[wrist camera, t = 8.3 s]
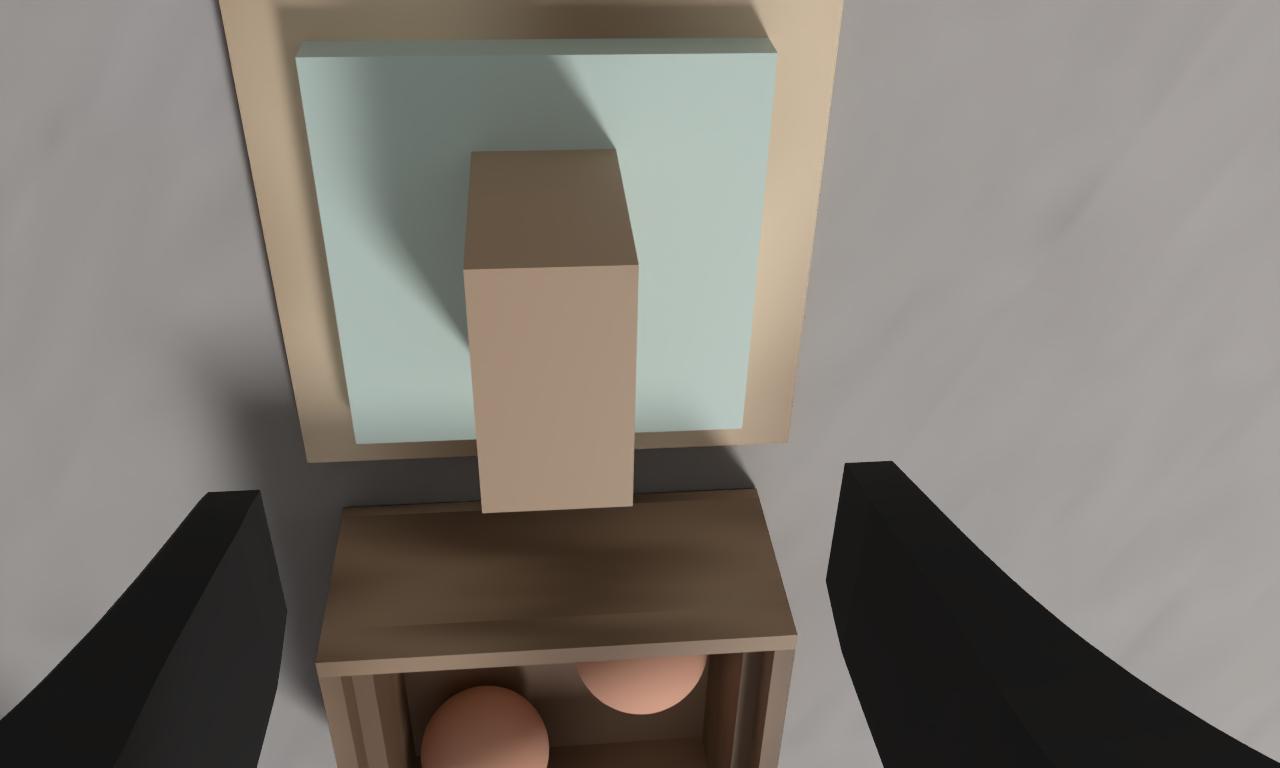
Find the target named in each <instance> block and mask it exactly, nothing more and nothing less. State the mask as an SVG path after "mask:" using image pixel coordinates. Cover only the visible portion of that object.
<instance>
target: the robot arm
mask: <svg viewBox="0 0 1280 768" xmlns="http://www.w3.org/2000/svg"><path fill="white" fill-rule="evenodd" d="M826 584H827V588H828V593H829V598H830V602H831V607H832V612H833V616H834V621H835V625H836V629H837V634H838V638H839V642H840V646H841V650H842V654H843V657H844V659H845V662H846V665H847V668H848V671H849V674H850V676H851V679H852V682H853V685H854V687H855V690H856V693H857V696H858V699H859V701H860V704H861V707H862V710H863V712H864V715H865V718H866V720H867V723H868V726H869V729H870V731H871V734H872V737H873V739H874V742H875V745H876V747H877V750H878V753H879V756H880V758H881V761H882V764H883V766H884V768H1280V763H1278V762H1277V761H1275V760H1273V759H1271V758H1269V757H1267V756H1265V755H1263V754H1262V753H1260V752H1258V751H1256V750H1254V749H1252V748H1250V747H1248V746H1247V745H1245V744H1243V743H1241V742H1240V741H1238V740H1236V739H1234V738H1233V737H1231V736H1229V735H1227V734H1226V733H1224V732H1222V731H1220V730H1219V729H1217V728H1215V727H1214V726H1212V725H1210V724H1208V723H1207V722H1205V721H1204V720H1202V719H1200V718H1199V717H1197V716H1196V715H1194V714H1192V713H1191V712H1189V711H1188V710H1186V709H1184V708H1183V707H1181V706H1180V705H1178V704H1176V703H1175V702H1173V701H1172V700H1170V699H1168V698H1167V697H1165V696H1164V695H1162V694H1160V693H1159V692H1157V691H1156V690H1154V689H1153V688H1151V687H1150V686H1148V685H1147V684H1145V683H1144V682H1142V681H1141V680H1139V679H1138V678H1136V677H1135V676H1134V675H1132V674H1131V673H1129V672H1128V671H1127V670H1125V669H1124V668H1122V667H1121V666H1120V665H1118V664H1117V663H1116V662H1114V661H1113V660H1111V659H1110V658H1109V657H1107V656H1106V655H1105V654H1103V653H1102V652H1100V651H1099V650H1098V649H1096V648H1095V647H1094V646H1092V645H1091V644H1089V643H1088V642H1087V641H1085V640H1084V639H1083V638H1082V637H1080V636H1079V635H1078V634H1076V633H1075V632H1074V631H1073V630H1071V629H1070V628H1069V627H1067V626H1066V625H1065V624H1064V623H1063V622H1061V621H1060V620H1059V619H1058V618H1057V617H1055V616H1054V615H1053V614H1052V613H1051V612H1049V611H1048V610H1047V609H1046V608H1045V607H1043V606H1042V605H1041V604H1040V603H1039V602H1038V601H1036V600H1035V599H1034V598H1033V597H1032V596H1030V595H1029V594H1028V593H1027V592H1026V591H1025V590H1023V589H1022V588H1021V587H1020V586H1019V585H1018V584H1017V583H1016V582H1015V581H1013V580H1012V579H1011V578H1010V577H1009V576H1008V575H1007V574H1006V573H1005V572H1003V571H1002V570H1001V569H1000V568H999V567H998V566H997V565H996V564H995V563H994V562H993V561H992V560H991V559H990V558H989V557H988V556H987V555H985V554H984V553H983V552H982V551H981V550H980V549H979V548H978V547H977V546H976V545H975V544H974V543H973V542H972V541H971V540H970V539H969V538H968V537H967V536H966V535H965V534H964V533H963V532H962V531H961V530H960V529H959V528H958V527H957V526H956V525H955V524H954V523H953V522H952V521H951V520H950V519H949V518H948V517H947V516H946V515H945V514H944V513H943V512H942V511H941V510H940V509H939V508H938V507H937V506H936V505H935V504H934V503H933V502H932V501H931V500H930V499H929V498H928V497H927V496H926V495H925V494H924V493H923V492H922V491H921V490H920V489H919V488H918V487H917V486H916V485H915V484H914V483H913V482H912V481H911V480H910V479H909V478H908V477H907V476H906V474H905V473H904V472H903V471H902V470H901V469H900V468H899V467H898V466H897V465H896V464H895V463H894V462H893V461H880V462H859V463H845V466H844V472H843V478H842V484H841V491H840V497H839V503H838V509H837V515H836V521H835V527H834V534H833V540H832V546H831V552H830V558H829V564H828V570H827V577H826ZM286 615H287V608H286V604H285V600H284V595H283V591H282V586H281V582H280V577H279V573H278V568H277V564H276V559H275V555H274V551H273V546H272V542H271V537H270V533H269V528H268V524H267V519H266V515H265V511H264V506H263V502H262V497H261V493H260V490H248V491H226V492H208V493H207V494H206V495H205V496H204V497H203V498H202V499H201V500H200V501H199V502H198V503H197V505H196V506H195V507H194V508H193V509H192V511H191V512H190V513H189V514H188V516H187V517H186V518H185V519H184V521H183V522H182V523H181V524H180V526H179V527H178V528H177V529H176V531H175V532H174V533H173V534H172V536H171V537H170V538H169V539H168V541H167V542H166V543H165V544H164V545H163V547H162V548H161V549H160V550H159V552H158V553H157V554H156V555H155V556H154V558H153V559H152V560H151V561H150V562H149V564H148V565H147V566H146V567H145V569H144V570H143V571H142V572H141V573H140V575H139V576H138V577H137V578H136V579H135V580H134V582H133V583H132V584H131V585H130V586H129V587H128V588H127V590H126V591H125V592H124V593H123V594H122V595H121V596H120V598H119V599H118V600H117V601H116V602H115V603H114V605H113V606H112V607H111V608H110V609H109V610H108V611H107V613H106V614H105V615H104V616H103V617H102V618H101V619H100V621H99V622H98V623H97V624H96V625H95V626H94V627H93V628H92V629H91V630H90V632H89V633H88V634H87V635H86V636H85V637H84V638H83V639H82V640H81V641H80V642H79V643H78V644H77V645H76V646H75V647H74V648H73V649H72V650H71V651H70V652H69V653H68V654H67V656H66V657H65V658H64V659H63V660H62V661H61V662H60V663H59V664H58V665H57V666H56V667H55V668H54V669H53V670H52V671H51V672H50V673H49V674H48V675H47V676H46V677H45V678H44V679H43V680H42V681H41V682H40V683H39V684H38V685H37V686H36V687H35V688H34V689H33V690H32V691H31V692H30V693H29V694H28V695H27V696H26V697H25V698H24V699H23V700H22V701H21V702H20V703H19V704H18V705H16V706H15V707H14V708H13V709H12V710H11V711H10V712H9V713H8V714H7V715H6V716H5V717H4V718H2V719H1V720H0V768H257V764H258V760H259V757H260V753H261V749H262V745H263V741H264V737H265V734H266V730H267V726H268V722H269V718H270V714H271V710H272V706H273V702H274V698H275V694H276V690H277V685H278V678H279V671H280V664H281V657H282V649H283V640H284V632H285V624H286Z"/></svg>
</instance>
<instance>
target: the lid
mask: <svg viewBox="0 0 1280 768" xmlns="http://www.w3.org/2000/svg"><path fill="white" fill-rule="evenodd" d="M777 57H778V52H777V51H776V49H775V47H774V46H773V44H772V42H771V41H770V39H769V37H740V38H614V39H487V40H361V41H303V42H302V44H301V46H300V49H299V51H298V53H297V55H296V57H295V59H296V65H297V71H298V78H299V84H300V91H301V97H302V103H303V110H304V116H305V122H306V129H307V135H308V141H309V148H310V154H311V160H312V167H313V173H314V180H315V186H316V192H317V199H318V205H319V211H320V218H321V224H322V230H323V237H324V243H325V250H326V256H327V262H328V269H329V275H330V281H331V288H332V294H333V300H334V307H335V313H336V319H337V326H338V332H339V339H340V345H341V351H342V358H343V364H344V370H345V377H346V383H347V389H348V396H349V402H350V409H351V415H352V421H353V428H354V434H355V440H356V444H373V443H397V442H422V441H446V440H471V439H476V440H477V453H478V466H479V479H480V492H481V505H482V513H498V512H520V511H541V510H562V509H584V508H605V507H626V506H633V477H634V438H635V433H642V432H667V431H691V430H716V429H740V428H742V425H743V415H744V404H745V394H746V383H747V373H748V362H749V352H750V341H751V331H752V320H753V310H754V299H755V288H756V278H757V267H758V257H759V246H760V236H761V225H762V215H763V204H764V194H765V183H766V173H767V162H768V152H769V141H770V131H771V120H772V110H773V99H774V88H775V78H776V67H777Z"/></svg>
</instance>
